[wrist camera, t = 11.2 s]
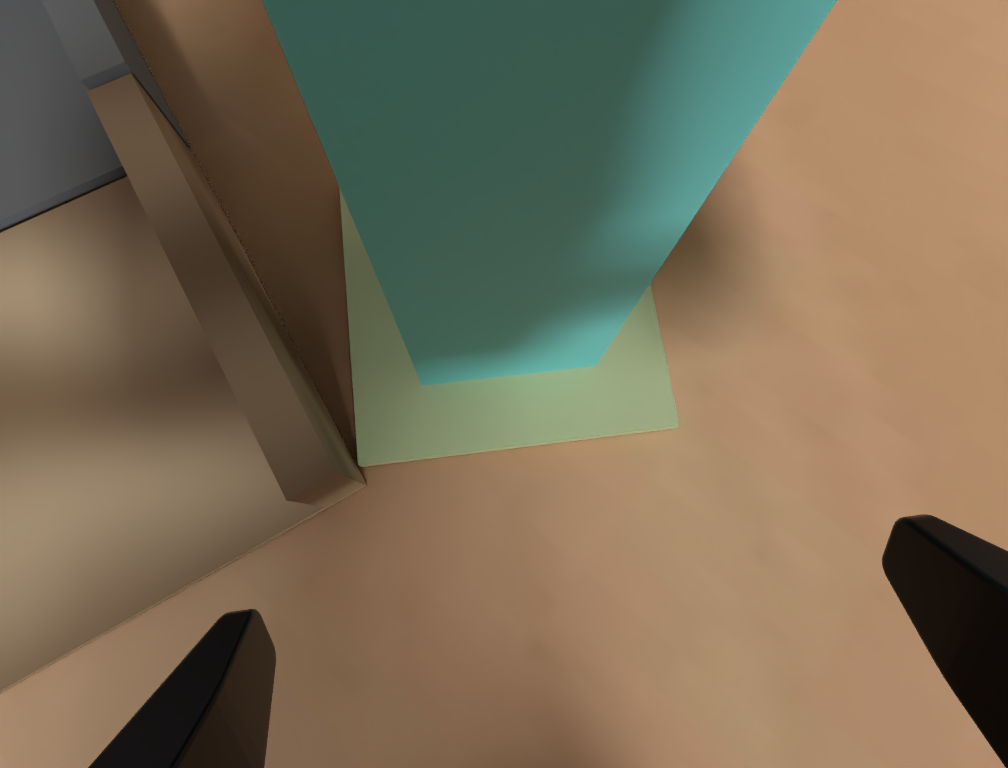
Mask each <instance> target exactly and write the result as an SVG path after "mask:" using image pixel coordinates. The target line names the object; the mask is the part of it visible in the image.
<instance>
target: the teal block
mask: <svg viewBox="0 0 1008 768" xmlns="http://www.w3.org/2000/svg"><path fill="white" fill-rule="evenodd" d="M836 1H837V0H262V2H263V4H264V7H265V9H266V11H267V14H268V16H269V19H270V21H271V24H272V26H273V28H274V31H275V33H276V36H277V38H278V40H279V43H280V45H281V48H282V50H283V52H284V55H285V57H286V60H287V62H288V64H289V67H290V69H291V72H292V74H293V76H294V79H295V81H296V84H297V86H298V88H299V91H300V93H301V96H302V98H303V101H304V103H305V105H306V108H307V110H308V113H309V115H310V117H311V120H312V122H313V125H314V127H315V129H316V132H317V134H318V137H319V139H320V141H321V144H322V146H323V149H324V151H325V153H326V156H327V158H328V161H329V163H330V165H331V168H332V170H333V173H334V175H335V178H336V180H337V182H338V185H339V187H340V190H341V192H342V194H343V197H344V199H345V202H346V204H347V206H348V209H349V211H350V214H351V216H352V218H353V221H354V223H355V226H356V228H357V230H358V233H359V235H360V238H361V240H362V242H363V245H364V247H365V250H366V252H367V255H368V257H369V259H370V262H371V264H372V267H373V269H374V271H375V274H376V276H377V279H378V281H379V283H380V286H381V288H382V291H383V293H384V295H385V298H386V300H387V303H388V305H389V307H390V310H391V312H392V315H393V317H394V319H395V322H396V324H397V327H398V329H399V332H400V334H401V336H402V339H403V341H404V344H405V346H406V348H407V351H408V353H409V356H410V358H411V360H412V363H413V365H414V368H415V370H416V372H417V375H418V377H419V380H420V382H421V384H422V386H424V385H433V384H442V383H450V382H459V381H468V380H477V379H486V378H494V377H503V376H512V375H521V374H530V373H538V372H547V371H556V370H565V369H574V368H582V367H591V366H596V365H597V363H598V362H599V360H600V359H601V357H602V356H603V354H604V353H605V351H606V350H607V348H608V347H609V345H610V344H611V342H612V341H613V339H614V338H615V336H616V335H617V333H618V331H619V330H620V328H621V327H622V325H623V324H624V322H625V321H626V319H627V318H628V316H629V315H630V313H631V312H632V310H633V309H634V307H635V306H636V304H637V303H638V301H639V300H640V298H641V297H642V295H643V294H644V292H645V291H646V289H647V288H648V286H649V284H650V283H651V281H652V280H653V278H654V277H655V275H656V274H657V272H658V271H659V269H660V268H661V266H662V265H663V263H664V262H665V260H666V259H667V257H668V256H669V254H670V253H671V251H672V250H673V248H674V247H675V245H676V244H677V242H678V240H679V239H680V237H681V236H682V234H683V233H684V231H685V230H686V228H687V227H688V225H689V224H690V222H691V221H692V219H693V218H694V216H695V215H696V213H697V212H698V210H699V209H700V207H701V206H702V204H703V203H704V201H705V200H706V198H707V197H708V195H709V193H710V192H711V190H712V189H713V187H714V186H715V184H716V183H717V181H718V180H719V178H720V177H721V175H722V174H723V172H724V171H725V169H726V168H727V166H728V165H729V163H730V162H731V160H732V159H733V157H734V156H735V154H736V153H737V151H738V149H739V148H740V146H741V145H742V143H743V142H744V140H745V139H746V137H747V136H748V134H749V133H750V131H751V130H752V128H753V127H754V125H755V124H756V122H757V121H758V119H759V118H760V116H761V115H762V113H763V112H764V110H765V109H766V107H767V106H768V104H769V102H770V101H771V99H772V98H773V96H774V95H775V93H776V92H777V90H778V89H779V87H780V86H781V84H782V83H783V81H784V80H785V78H786V77H787V75H788V74H789V72H790V71H791V69H792V68H793V66H794V65H795V63H796V62H797V60H798V58H799V57H800V55H801V54H802V52H803V51H804V49H805V48H806V46H807V45H808V43H809V42H810V40H811V39H812V37H813V36H814V34H815V33H816V31H817V30H818V28H819V27H820V25H821V24H822V22H823V21H824V19H825V18H826V16H827V15H828V13H829V11H830V10H831V8H832V7H833V5H834V4H835V2H836Z"/></svg>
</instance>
